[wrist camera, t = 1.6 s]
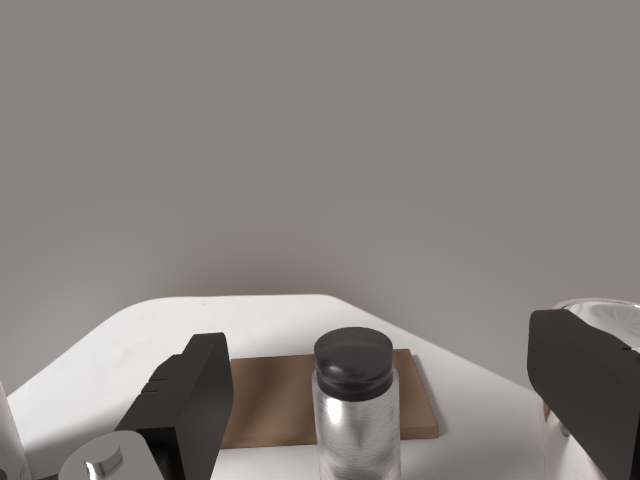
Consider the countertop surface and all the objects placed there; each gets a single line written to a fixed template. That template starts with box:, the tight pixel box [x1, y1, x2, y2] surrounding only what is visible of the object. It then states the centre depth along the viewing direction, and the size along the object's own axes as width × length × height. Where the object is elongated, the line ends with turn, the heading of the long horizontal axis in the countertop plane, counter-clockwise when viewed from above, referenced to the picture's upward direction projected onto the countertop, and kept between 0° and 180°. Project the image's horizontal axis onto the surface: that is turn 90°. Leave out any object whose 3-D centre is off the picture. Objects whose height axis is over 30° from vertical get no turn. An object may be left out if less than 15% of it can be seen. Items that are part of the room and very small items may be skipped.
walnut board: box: [220, 349, 438, 449], centre depth 40 cm, size 20×12×1 cm, turn 90°
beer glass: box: [538, 298, 640, 480], centre depth 23 cm, size 7×7×15 cm
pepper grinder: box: [312, 327, 401, 480], centre depth 25 cm, size 5×5×14 cm
